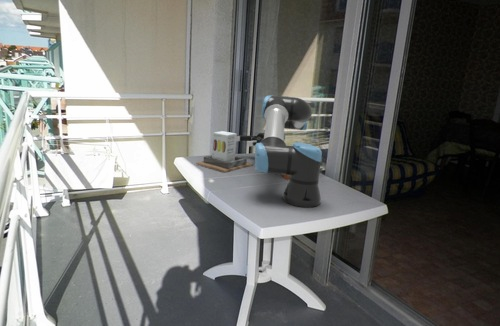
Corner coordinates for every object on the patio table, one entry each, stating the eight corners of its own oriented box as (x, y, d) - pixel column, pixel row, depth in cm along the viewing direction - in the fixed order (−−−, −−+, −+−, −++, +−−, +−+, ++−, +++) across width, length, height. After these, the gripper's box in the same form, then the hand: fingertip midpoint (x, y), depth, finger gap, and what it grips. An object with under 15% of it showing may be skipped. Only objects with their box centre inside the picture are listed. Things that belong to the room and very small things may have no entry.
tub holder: (224, 172, 173) (224, 165, 172) (196, 164, 184) (196, 157, 183) (252, 165, 192) (253, 158, 191) (225, 158, 203) (225, 151, 202)
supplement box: (211, 163, 185) (212, 132, 181) (220, 160, 193) (222, 130, 189) (225, 166, 181) (227, 134, 177) (235, 163, 189) (237, 133, 185)
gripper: (280, 149, 199) (254, 152, 184) (249, 141, 216) (224, 144, 201) (281, 136, 198) (256, 139, 183) (250, 129, 214) (224, 131, 199)
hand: (239, 141), depth 192 cm, fingers open, 13 cm apart
